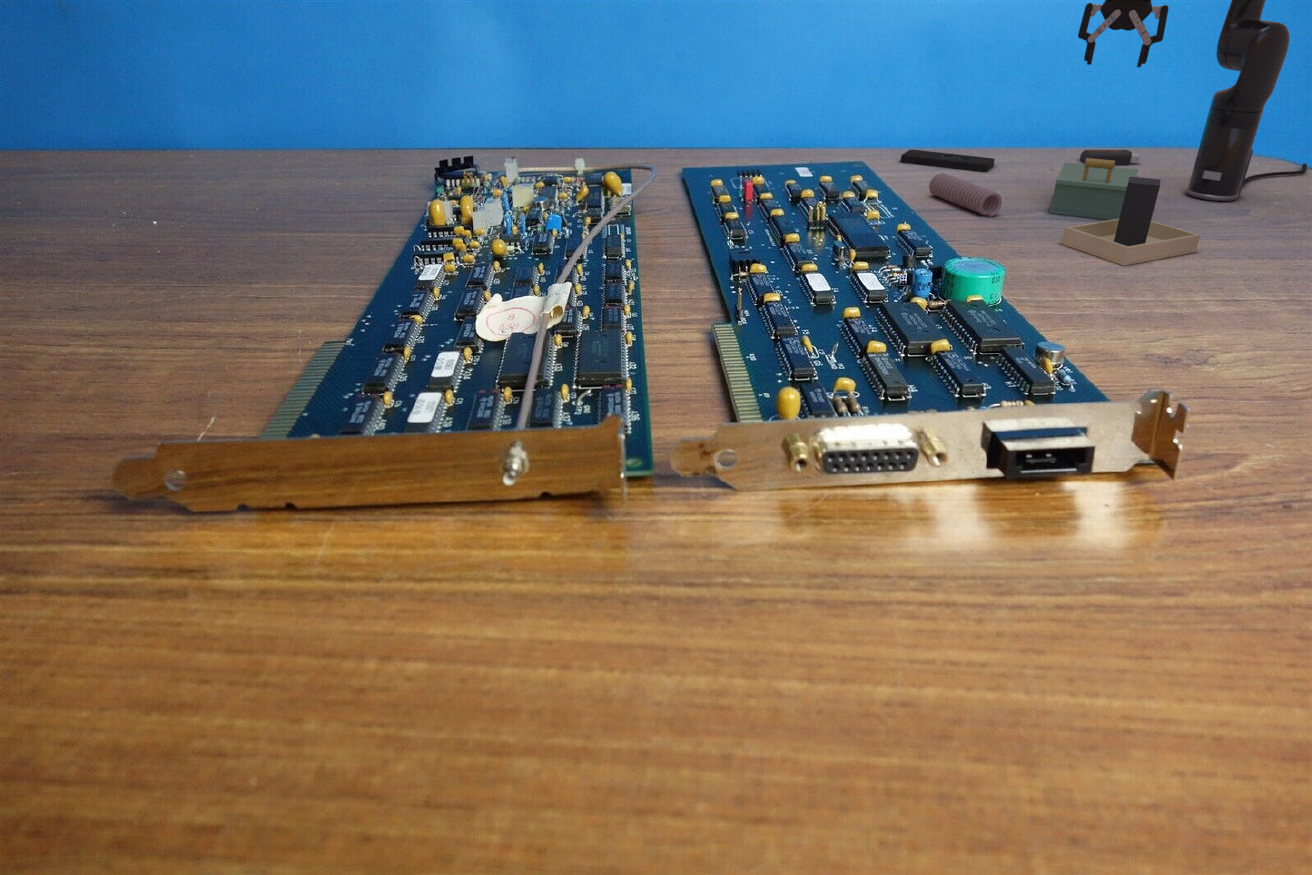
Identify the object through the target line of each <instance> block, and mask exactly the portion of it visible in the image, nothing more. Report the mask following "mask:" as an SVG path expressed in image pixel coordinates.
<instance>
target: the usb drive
mask: <svg viewBox="0 0 1312 875" xmlns="http://www.w3.org/2000/svg"><path fill="white" fill-rule="evenodd" d="M1079 156H1080V157H1079V161H1081V162H1083V164H1085V161H1086V158H1092V159H1103V160H1114V161H1115V164H1114V166H1128V165H1129V166H1130V164H1139V162H1140V157H1141V156H1140V154H1138V153H1136V152H1132V151H1130V150H1129V149H1083V151H1082V152H1081V154H1080V155H1079Z"/></svg>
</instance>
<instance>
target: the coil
mask: <svg viewBox="0 0 1312 875" xmlns="http://www.w3.org/2000/svg"><path fill="white" fill-rule="evenodd" d="M928 190H929V192H930V194H931V195H932V196H935V197H938V198H939V199H942V200H944V201H946V202H947V201H948V202H950V203H952V204H954V205H957V206H960V207H962V208H965V209H967V210H969V211H971V212H975V213H977V214H979V215H982V216H985V217H986V216H988V218H991V217H994V216H996V215H997V214H998V213H999V211H1000V210H1001V208H1002V204H1003V199H1002V196H1001V194H1000V193H998V192H996V191H994V190H991V189H988V188H985V187H983V186H980V185H978V184H974V183H972V182H969V181H966V180H963V179H961V178H958V177H955V176H953V175H950V174H946V173H944V172H940V173H937V174H935V175H934V176H933V177H932V178H931V180H930V182H929V184H928Z"/></svg>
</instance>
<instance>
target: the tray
mask: <svg viewBox="0 0 1312 875" xmlns="http://www.w3.org/2000/svg"><path fill="white" fill-rule="evenodd" d="M1118 222H1119V219H1113V220H1107V219H1106V220H1101V221H1096V222H1090V223H1083V224H1078V225H1077V224H1076V225H1071V226H1065V227H1064V230H1063V236H1062V240H1061V245H1063V246H1066V247H1069V248H1071V249H1075V250H1078V251H1080V252H1084V253H1086V254H1090V255H1091V256H1095V257H1097V258H1101V259H1104V260H1107V261H1109V262H1113V263H1115V264H1117V265H1121V266H1130V265H1134V264H1139V263H1145V262H1150V261H1157V260H1160V259H1165V258H1166V259H1167V258H1171V257H1177V256H1182V255H1187V254H1193V253H1196V252H1197V248H1198V244H1199V242H1200V238H1201V234H1199V233H1195V232H1192V231H1188V230H1185V229H1182V228H1178V227H1175V226H1171V225H1167V224H1164V223H1161V222H1158V221H1154V220H1151V223H1150V227H1149V231H1148V235H1147V238H1146V242H1145V244H1139V245H1134V246H1125V245H1122V244H1119V243H1116V242H1114V238H1115V234H1116V230H1117V226H1118Z"/></svg>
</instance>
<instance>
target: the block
mask: <svg viewBox="0 0 1312 875" xmlns="http://www.w3.org/2000/svg"><path fill="white" fill-rule="evenodd" d="M1160 188H1161V179H1160V178H1150V177H1149V178H1148V177H1141V176H1140V177H1138V176H1137V177H1129V181H1128V185H1127V189H1126V193H1125V197H1124V201H1123V205H1122V209H1121V213H1120V218H1119V222H1118V226H1117V230H1116V234H1115V238H1114V242H1116V243H1119V244H1122V245H1125V246H1134V245H1139V244H1145V242H1146V238H1147V235H1148V231H1149V227H1150V223H1151V221H1152V218H1153V215H1154V211H1155V207H1156V204H1157V200H1158V196H1159V193H1160V192H1159V191H1160Z"/></svg>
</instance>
